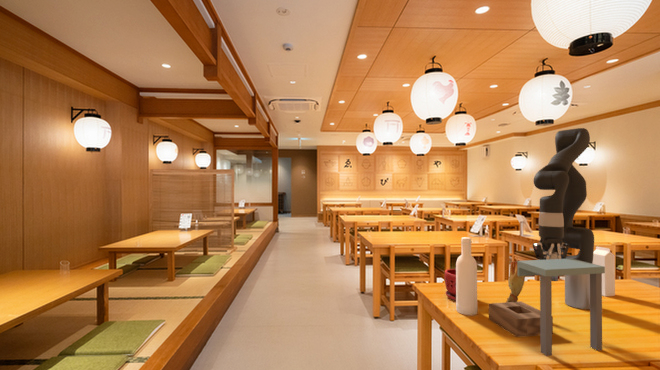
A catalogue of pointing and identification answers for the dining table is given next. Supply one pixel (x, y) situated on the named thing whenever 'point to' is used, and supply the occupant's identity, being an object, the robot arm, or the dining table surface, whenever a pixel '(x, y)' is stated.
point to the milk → (606, 269)
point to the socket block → (516, 318)
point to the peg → (553, 256)
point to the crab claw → (515, 283)
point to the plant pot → (450, 283)
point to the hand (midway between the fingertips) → (550, 270)
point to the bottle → (466, 280)
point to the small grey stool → (546, 271)
